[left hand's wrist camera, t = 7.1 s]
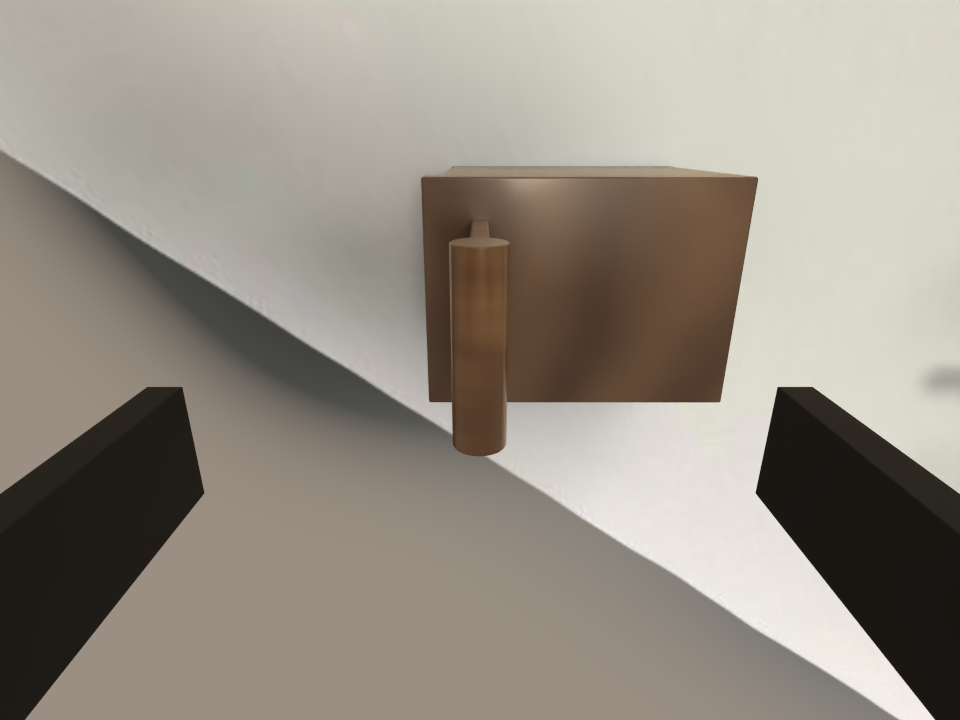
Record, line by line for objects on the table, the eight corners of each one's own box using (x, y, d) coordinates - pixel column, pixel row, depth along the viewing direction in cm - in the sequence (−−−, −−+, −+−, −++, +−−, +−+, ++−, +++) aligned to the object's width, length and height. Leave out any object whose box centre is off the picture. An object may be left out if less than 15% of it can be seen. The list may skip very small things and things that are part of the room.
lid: (431, 391, 27) (410, 496, 19) (423, 175, 24) (394, 190, 15) (710, 391, 27) (807, 496, 19) (745, 175, 24) (883, 191, 15)
